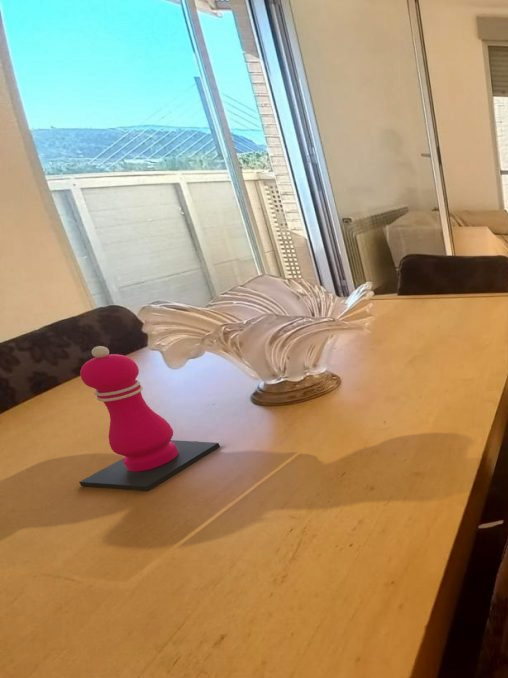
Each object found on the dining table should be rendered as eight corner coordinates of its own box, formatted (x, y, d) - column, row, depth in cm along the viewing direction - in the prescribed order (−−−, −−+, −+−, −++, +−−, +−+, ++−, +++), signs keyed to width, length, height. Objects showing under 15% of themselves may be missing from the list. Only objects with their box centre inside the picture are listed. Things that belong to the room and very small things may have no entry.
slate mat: (81, 486, 73) (78, 481, 72) (160, 443, 84) (158, 439, 83) (148, 491, 71) (146, 486, 71) (220, 446, 82) (218, 442, 82)
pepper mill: (111, 471, 75) (48, 354, 67) (161, 446, 81) (109, 336, 73) (145, 476, 73) (84, 357, 65) (193, 450, 79) (143, 339, 72)
